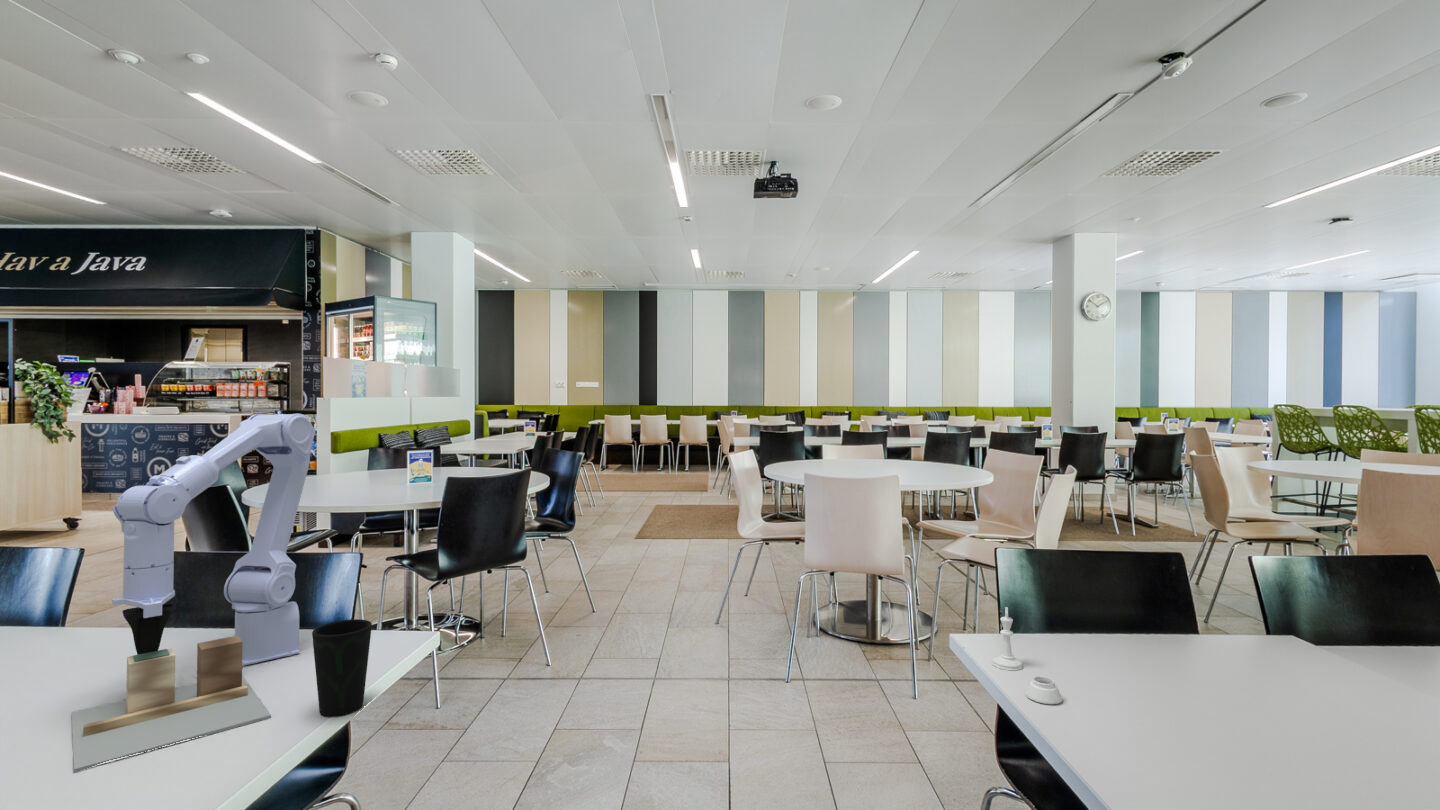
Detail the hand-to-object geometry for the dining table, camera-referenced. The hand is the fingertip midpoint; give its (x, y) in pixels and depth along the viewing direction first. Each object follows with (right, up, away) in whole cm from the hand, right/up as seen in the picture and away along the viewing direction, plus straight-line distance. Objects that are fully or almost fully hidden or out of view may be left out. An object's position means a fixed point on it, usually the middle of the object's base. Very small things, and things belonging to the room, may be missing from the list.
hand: (147, 655), depth 97 cm
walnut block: (+9, -7, +2) cm, 12 cm away
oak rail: (+7, -7, -4) cm, 11 cm away
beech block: (+4, -7, -4) cm, 9 cm away
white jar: (+136, -8, +1) cm, 137 cm away
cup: (+31, -7, -2) cm, 32 cm away
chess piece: (+137, -8, +15) cm, 138 cm away
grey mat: (+7, -7, -4) cm, 11 cm away
